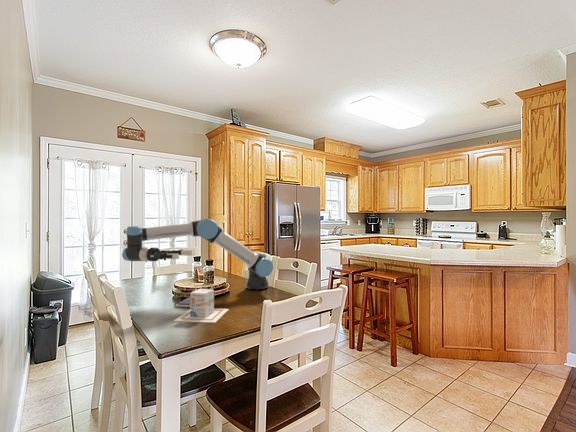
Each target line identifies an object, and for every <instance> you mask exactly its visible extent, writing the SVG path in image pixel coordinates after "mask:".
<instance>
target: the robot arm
mask: <svg viewBox="0 0 576 432" xmlns="http://www.w3.org/2000/svg"><path fill="white" fill-rule="evenodd" d="M188 236H189V237H190V236H192V237H193V238H194V237H201V239H204V240H205V241H207V242H208V243H210V244H212V245H213V244H216V245H217V246H219V247H220V248H222V249H223V250H225V251H226V252H228V253H230V254H231V255H232V256H234V257H235V258H237V259H238V260H239V261H241V262H242V263H244V264H246V267H247V269H248V278H247V281H246V285H245V287H246V289H247V288H248V289H247V290H249V289H255V290H254V291H260V290H259V289H264V290H266V289H265V288H267V289H269V288H268V287H270V286H269V281H268V279H267V277H269V276H271V274H272V273H273V271H274V264H273V262H272V260H271V259H270V258H267V255H266V253H259V252H254V251H252V249H249V248H248V247H247V246H245V245H244V244H242V243H241V242H240V241H238V240H237V239H235V238H234V237H233V236H231V235H230V234H228V233H227V232H225V230H224V227H222V226H221V225H220V224H218V223H217V222H216V221H215V220H214V219H211V218H202V219H200V220H194V221H190V223H182V224H173V225H172V224H171V225H161V226H160V225H159V226H153V227H144V228H143V227H142V226H141V225H135V226H133V225H130V226H127V227H126V243H127V244H126V245H127V246H126V247H125V248H124V249H123V250H122V255H121V256H122V258H123V260H125V261H127V262H128V261H129V262H145V263H147V262H158V261H159V260H163V261H167V260H179V259H180V256H193V250H191V249H190V250H188V249H187V250H184V249H178V250H177V249H176V250H160V248H158V247H150V246H149V247H144V246H143V241H151V240H162V239H169V238H179V237H188Z"/></svg>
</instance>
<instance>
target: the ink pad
mask: <svg viewBox="0 0 576 432" xmlns="http://www.w3.org/2000/svg"><path fill="white" fill-rule="evenodd" d="M175 308H190V297H189V296H188V297H186V298H185V299H183V300H182V301H179V302H178V303H176V304H175Z"/></svg>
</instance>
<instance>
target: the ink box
mask: <svg viewBox="0 0 576 432" xmlns="http://www.w3.org/2000/svg"><path fill="white" fill-rule="evenodd" d="M189 308H190V309H189V310H190V316H193V317H204V318H206V317H207V316H209V315H211V314H212V313H214V308H215V290H214V289H210V288H209V289H208V288H198V289H195V290H193V291H191V292H190V307H189Z"/></svg>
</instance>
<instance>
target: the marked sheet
mask: <svg viewBox="0 0 576 432" xmlns="http://www.w3.org/2000/svg"><path fill="white" fill-rule="evenodd" d="M228 311H230V308H218V307H217V308H215V307H214V313H212V314H211V315H209V316H207V317H206V318H204V317H193V316H190V309H188V310H187V311H185V312H184V313H182V314H181V315H180V316H178V317H177V318H176V319H174V320H173V322H181V323H207V324H215V323H217V322H218V321H219V320H220V319H221V318H222V317H223V316H224V315H225V314H226V313H227V312H228Z"/></svg>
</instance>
